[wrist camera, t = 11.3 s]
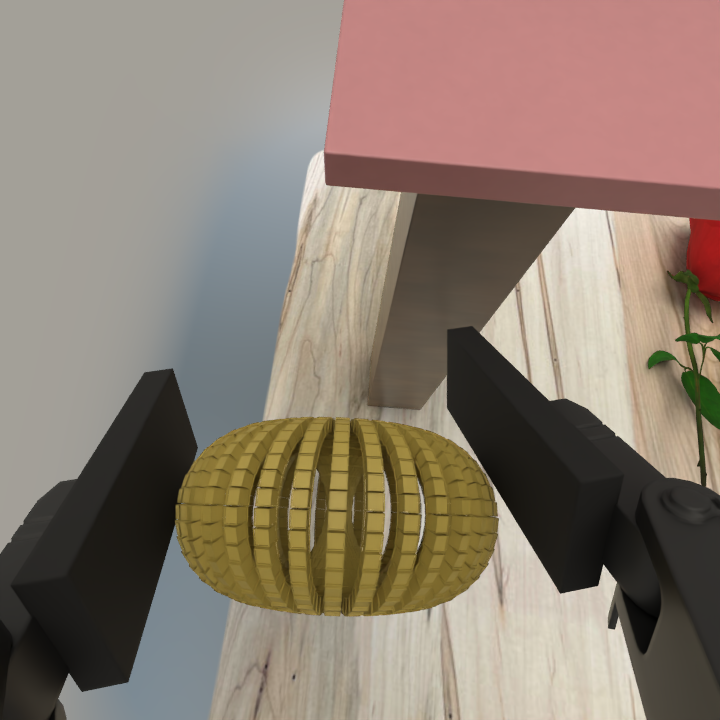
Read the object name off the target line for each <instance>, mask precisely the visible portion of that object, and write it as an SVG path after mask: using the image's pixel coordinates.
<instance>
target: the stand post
mask: <svg viewBox="0 0 720 720" xmlns="http://www.w3.org/2000/svg"><path fill="white" fill-rule="evenodd" d="M574 209H575V207H564V206H553V205H541V204H530V203H519V202H508V201H497V200H486V199H475V198H464V197H452V196H441V195H430V194H419V193H408V192H401V195H400V201H399V206H398V212H397V217H396V222H395V228H394V233H393V239H392V244H391V250H390V255H389V261H388V266H387V271H386V277H385V282H384V288H383V293H382V299H381V304H380V310H379V315H378V321H377V326H376V331H375V337H374V342H373V348H372V353H371V363H370V377H369V390H368V404H367V405H370V406H382V407H393V408H405V409H417V410H420V409H421V408H422V407H423V405H424V404H425V403H426V402H427V400H428V399H429V398H430V396H431V395H432V394H433V392H434V391H435V390H436V388H437V387H438V386H439V385H440V383H441V382H442V381H443V379H444V378H445V377H446V375H447V329H454V328H461V327H468V326H473V327H474V328H475V329H476V330H477V331H478V332H479V333H480V331H481V330H482V329H483V327H484V326H485V325H486V323H487V322H488V321H489V319H490V318H491V317H492V316H493V314H494V313H495V312H496V310H497V309H498V308H499V306H500V305H501V304H502V303H503V301H504V300H505V299H506V297H507V296H508V295H509V293H510V292H511V291H512V290H513V288H514V287H515V286H516V284H517V283H518V282H519V280H520V279H521V278H522V277H523V275H524V274H525V273H526V271H527V270H528V269H529V267H530V266H531V265H532V263H533V262H534V261H535V260H536V258H537V257H538V256H539V254H540V253H541V252H542V250H543V249H544V248H545V247H546V245H547V244H548V243H549V241H550V240H551V239H552V237H553V236H554V235H555V234H556V232H557V231H558V230H559V228H560V227H561V226H562V224H563V223H564V222H565V221H566V219H567V218H568V217H569V215H570V214H571V213H572V211H573V210H574Z"/></svg>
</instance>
